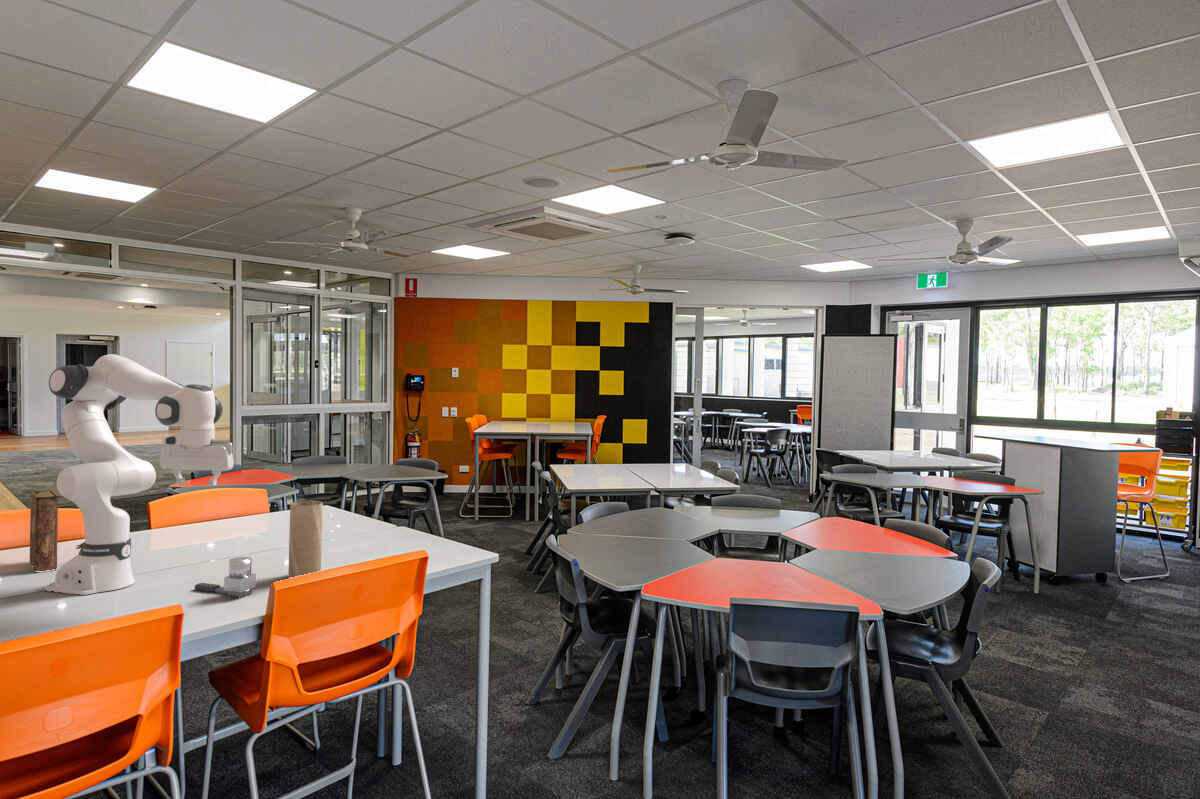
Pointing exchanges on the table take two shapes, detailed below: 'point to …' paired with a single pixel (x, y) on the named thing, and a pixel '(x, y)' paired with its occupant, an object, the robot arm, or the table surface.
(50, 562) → the book
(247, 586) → the grey block with cylinder
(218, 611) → the table surface
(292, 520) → the tube
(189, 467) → the robot arm
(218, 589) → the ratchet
